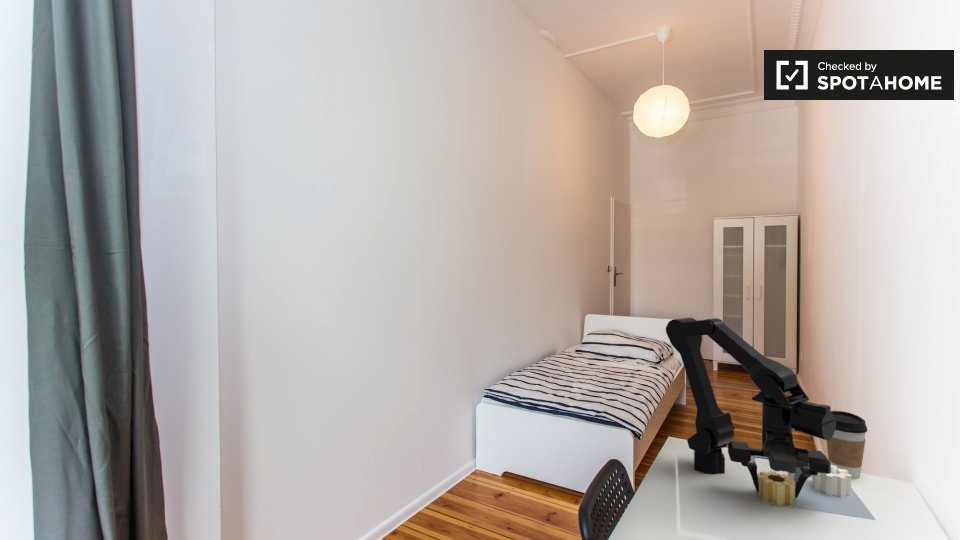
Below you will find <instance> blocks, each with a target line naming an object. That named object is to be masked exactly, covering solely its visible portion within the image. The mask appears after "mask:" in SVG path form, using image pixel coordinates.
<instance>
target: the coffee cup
mask: <svg viewBox="0 0 960 540" xmlns="http://www.w3.org/2000/svg"><path fill="white" fill-rule="evenodd" d="M830 412H831V413H833V415H834V418H835V420H836V428H835V432H834V435H833V437H832V438H831V439H830V440H826V447H827V459H828V460H829V461H830V465H834V466H837V468H840V469H845V470H847V471H849V474H850V475H851V480H859V479H860V478H861V473H862V466H863V459H864V453H865V445H866V433H867V432H868V427H867V423H866V420H865V419H864V418H862V417H860V416H858V415H856V414H854V413H852V412H846V411H840V410H830Z"/></svg>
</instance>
